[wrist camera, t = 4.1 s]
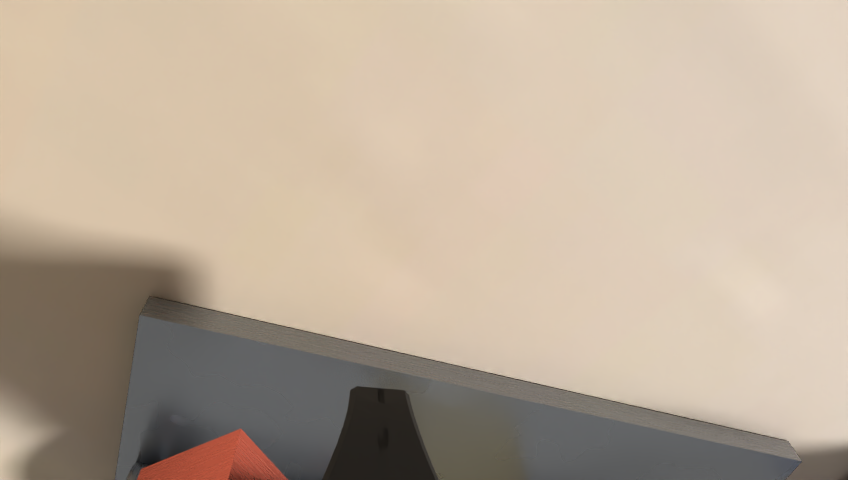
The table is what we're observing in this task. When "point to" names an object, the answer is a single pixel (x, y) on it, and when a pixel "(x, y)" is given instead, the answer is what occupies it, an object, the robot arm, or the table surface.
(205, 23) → the table surface
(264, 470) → the lever
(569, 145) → the table surface
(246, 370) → the grey machine base
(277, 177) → the table surface
